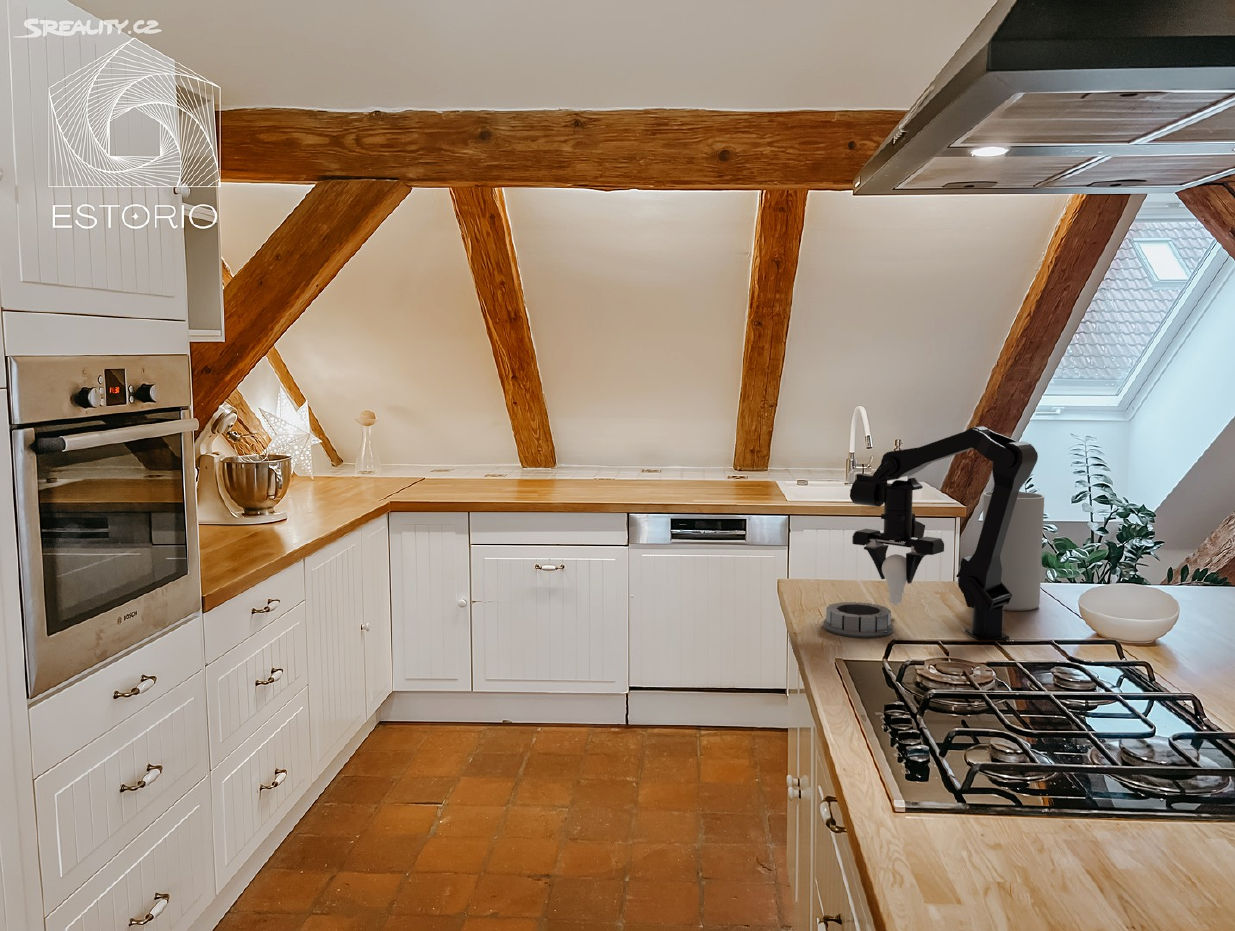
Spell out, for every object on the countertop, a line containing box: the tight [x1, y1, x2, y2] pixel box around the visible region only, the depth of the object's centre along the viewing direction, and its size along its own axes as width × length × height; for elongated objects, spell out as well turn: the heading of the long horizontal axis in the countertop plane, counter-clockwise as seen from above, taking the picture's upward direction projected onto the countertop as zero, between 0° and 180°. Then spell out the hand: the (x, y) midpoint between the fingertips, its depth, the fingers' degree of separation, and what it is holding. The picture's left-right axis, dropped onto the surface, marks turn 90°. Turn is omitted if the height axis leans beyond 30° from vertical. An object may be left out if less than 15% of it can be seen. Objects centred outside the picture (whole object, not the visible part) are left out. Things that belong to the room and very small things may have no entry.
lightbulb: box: [882, 554, 907, 606], centre depth 208 cm, size 6×6×11 cm
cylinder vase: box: [981, 490, 1045, 612], centre depth 217 cm, size 12×12×25 cm
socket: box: [822, 601, 895, 639], centre depth 199 cm, size 14×14×4 cm
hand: (896, 581), depth 208 cm, fingers closed on lightbulb, 6 cm apart
